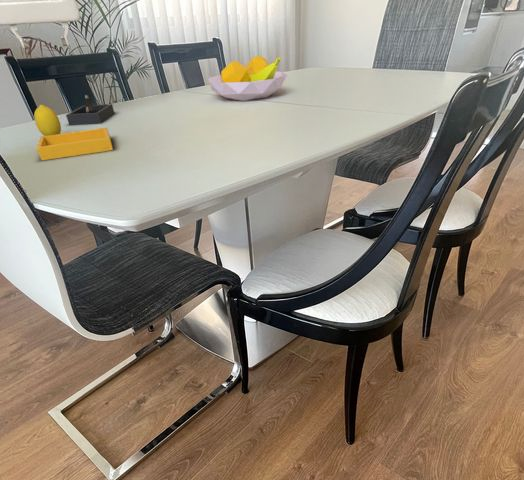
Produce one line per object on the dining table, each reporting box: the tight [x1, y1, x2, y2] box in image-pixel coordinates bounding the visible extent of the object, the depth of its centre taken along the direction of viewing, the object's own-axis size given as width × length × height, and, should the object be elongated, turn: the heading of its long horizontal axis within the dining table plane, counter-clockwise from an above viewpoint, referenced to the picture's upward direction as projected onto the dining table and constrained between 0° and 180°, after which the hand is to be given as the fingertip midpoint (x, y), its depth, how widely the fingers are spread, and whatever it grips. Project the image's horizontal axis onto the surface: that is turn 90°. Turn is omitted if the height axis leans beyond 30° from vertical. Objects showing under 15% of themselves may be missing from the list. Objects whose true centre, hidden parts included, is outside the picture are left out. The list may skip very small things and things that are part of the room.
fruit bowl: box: [208, 55, 288, 102], centre depth 128 cm, size 28×27×11 cm
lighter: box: [84, 94, 94, 113], centre depth 116 cm, size 8×2×5 cm
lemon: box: [33, 104, 62, 136], centre depth 97 cm, size 6×6×8 cm
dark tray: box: [65, 103, 116, 126], centre depth 117 cm, size 14×10×3 cm
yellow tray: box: [36, 127, 114, 161], centre depth 91 cm, size 16×12×3 cm
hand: (46, 47), depth 97 cm, fingers open, 8 cm apart
